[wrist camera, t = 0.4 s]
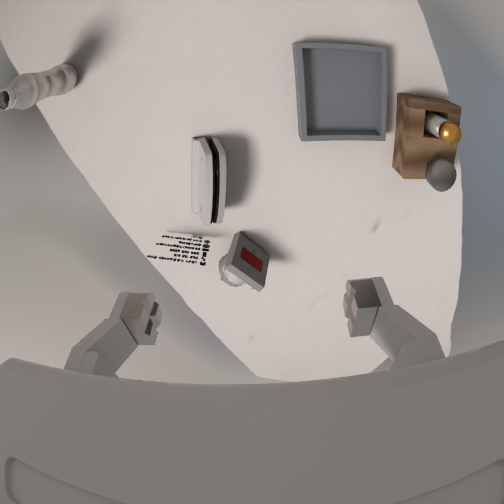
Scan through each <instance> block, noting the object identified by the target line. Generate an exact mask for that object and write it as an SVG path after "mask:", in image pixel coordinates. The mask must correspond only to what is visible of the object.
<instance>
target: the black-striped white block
mask: <svg viewBox="0 0 504 504" xmlns="http://www.w3.org/2000/svg"><path fill="white" fill-rule="evenodd" d="M225 199H226V153H225V151H224V149H223V147H222V145H221V143H220V142H219V140H218V138H215V137H211V139H210V140H209V142H208V140H207V139H205V137H203V138H199V139H195V138H194V137H192V146H191V208H192V211H193V213H197V214H199V216H200V218H201V220H202V223H203V225H210V224H212V221H213V223H215V224H219V223H222V221H223V216H224V209H225Z"/></svg>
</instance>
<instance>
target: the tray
mask: <svg viewBox="0 0 504 504" xmlns="http://www.w3.org/2000/svg"><path fill="white" fill-rule="evenodd" d="M293 55H294V67H295V81H296V95H297V111H298V130H299V137H300V139H301V141H327V140H372V141H385V135H386V116H387V48H383V47H375V46H365V45H354V44H339V43H293Z"/></svg>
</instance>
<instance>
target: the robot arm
mask: <svg viewBox="0 0 504 504" xmlns="http://www.w3.org/2000/svg"><path fill="white" fill-rule="evenodd" d="M346 290H347V292H346V293H345V294H344V300H343V307H344V313H345V316H346V317H347V318H348V324H347V325H348V329H349V333H350V337H357V336H367V335H370V337H371V338H372V339H373V341H374V342H375V343H376V344H377V345H378V346H379V347H380V348H381V349H382V350H383V351H384V352H385V353H386V354H387V355H388V356H389V357H390V358H391V360H393V362H394V363H393V364H392V366H391V368H390V370H386V371H380V372H375V373H368V374H361V375H354V376H347V377H339V378H331V379H322V380H311V381H300V382H286V383H269V384H229V385H228V384H227V385H226V384H185V383H167V382H154V381H142V380H132V379H123V378H119V377H118V376H117V375H116V374H115V372H116V371H117V370H118V369H119V367H120V366H121V365H122V364H123V363H124V362H125V360H126V359H127V358H128V357H129V356H130V355H131V353H132V352H133V351H134V350H135V349H136V348H137V346H138V345H155V342H156V338H157V335H158V332H157V330H156V328H157V327H158V326H159V325H160V323H161V317H162V316H161V314H162V313H161V308H160V306H159V304H158V303H156V302H155V298H156V297H155V295H154V293H153V292H151V291H122V292H120V293H119V295H118V298H117V300H116V302H115V304H114V307H113V309H112V312H111V314H110V317H109V319H105V320H104V321H103V322H102V323H100V324H99V325H98V326H97V327H96V328H94V329H93V330H92V331H91V332H90V333H89V334H88V335H86V336H85V337H84V338H83V339H82V340H81V341H80V342H78V343H77V344H76V345H75V346H74V347H73V348H72V349H71V352H70V354H69V357H68V359H67V362H66V365H65V367H64V369H59V368H55V367H50V366H46V365H41V364H37V363H33V362H28V361H24V360H21V359H17V358H9V359H8V360H6V361H5V362H4V363H2V364H1V365H0V504H504V340H502V341H499V342H496V343H493V344H490V345H487V346H483V347H480V348H478V349H474V350H470V351H467V352H464V353H460V354H457V355H453V356H449V357H445V356H444V353H443V350H442V348H441V345H440V343H439V340H438V338H437V335H436V334H435V333H434V332H432V331H431V330H430V329H428V328H427V327H426V326H425V325H423V324H422V323H421V322H419V321H418V320H417V319H416V318H414V317H413V316H412V315H410V314H409V313H408V312H406V311H405V310H404V309H402V308H401V307H400V306H398V305H394V303H393V301H392V298H391V296H390V293H389V291H388V289H387V286H386V284H385V282H384V279H383V278H382V277H374V278H364V279H354V280H347V282H346Z"/></svg>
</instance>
